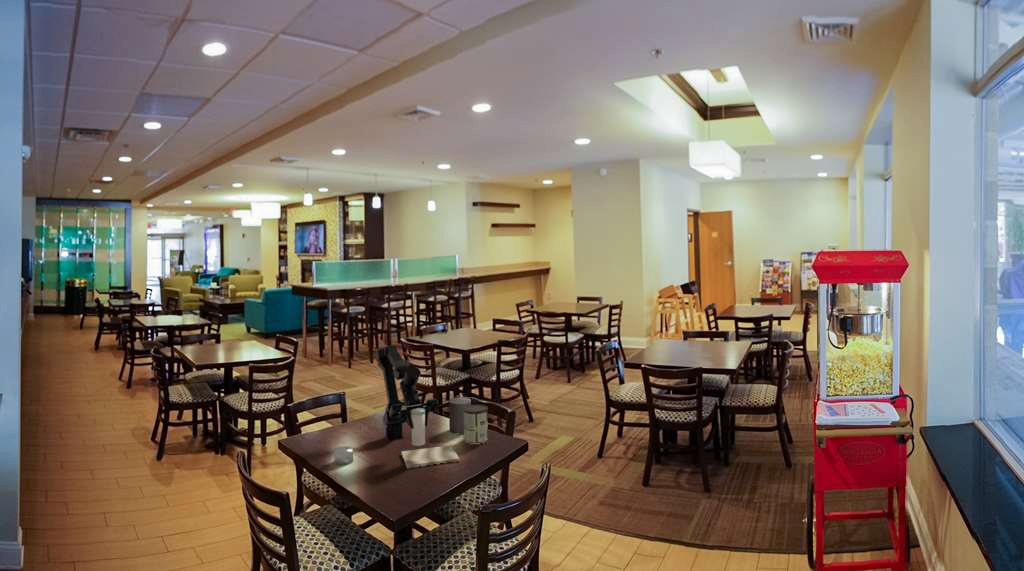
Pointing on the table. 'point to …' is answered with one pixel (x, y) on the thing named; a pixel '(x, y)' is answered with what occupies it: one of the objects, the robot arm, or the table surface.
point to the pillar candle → (457, 414)
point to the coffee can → (475, 424)
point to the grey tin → (343, 455)
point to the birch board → (429, 456)
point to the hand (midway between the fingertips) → (419, 427)
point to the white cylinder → (418, 426)
